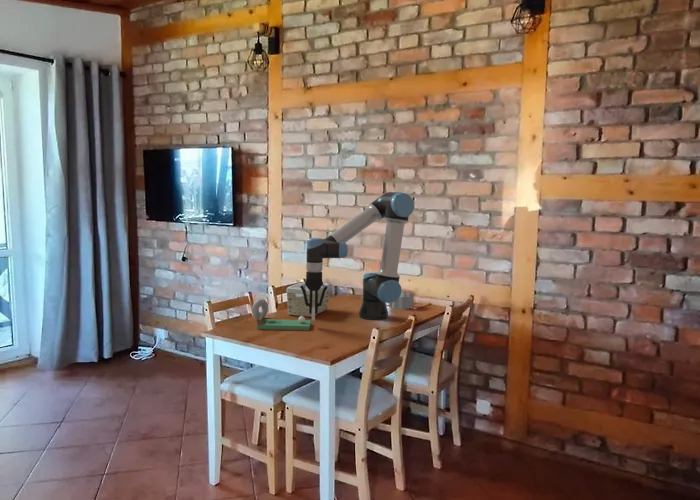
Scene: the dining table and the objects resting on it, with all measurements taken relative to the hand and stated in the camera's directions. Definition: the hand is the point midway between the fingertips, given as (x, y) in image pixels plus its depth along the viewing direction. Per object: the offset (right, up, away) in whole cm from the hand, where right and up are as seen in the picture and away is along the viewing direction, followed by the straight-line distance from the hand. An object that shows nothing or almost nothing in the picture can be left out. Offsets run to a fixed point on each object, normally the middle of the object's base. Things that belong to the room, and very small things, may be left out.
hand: (313, 320), depth 271 cm
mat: (-14, -3, 0) cm, 14 cm away
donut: (-28, -1, +15) cm, 32 cm away
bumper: (-25, -1, 0) cm, 25 cm away
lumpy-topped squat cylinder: (+47, +1, +52) cm, 71 cm away
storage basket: (-5, 0, +33) cm, 33 cm away
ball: (-5, 0, 0) cm, 6 cm away
